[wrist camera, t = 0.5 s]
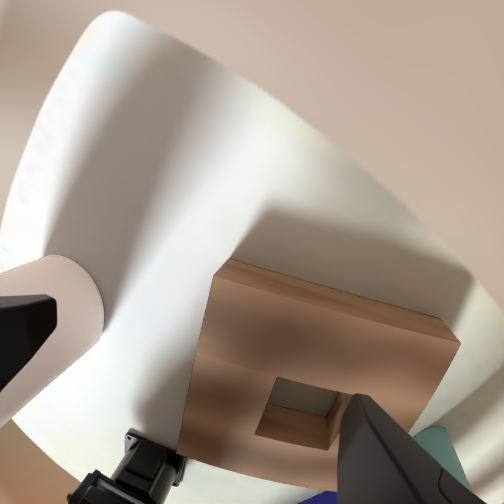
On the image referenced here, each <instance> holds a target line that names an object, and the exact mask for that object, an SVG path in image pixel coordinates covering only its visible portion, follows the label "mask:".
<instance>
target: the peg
mask: <svg viewBox="0 0 504 504" xmlns="http://www.w3.org/2000/svg"><path fill="white" fill-rule="evenodd" d="M413 439H414V440H415V441H417V442H418V443H419V444H420V445H421V446H422V447H423V448H424V449H425V450H426V451H427V452H428V453H429V454H430V455H431V456H432V457H433V458H434V459H435V460H436V461H438V462H439V463H440V464H441V465H442V468H445V469H446V470H447V471H448V472H449V473H450V474H451V475H452V476H453V477H455V478H456V479H457V480H458V481H459V482H460V483H461V484H462V485H464V486H465V487H466V488H467V489H469V490H470V491H471V488H470V486H469V483H468V481H467V478H466V476H465V473H464V471H463V468H462V466H461V463H460V461H459V459H458V456H457V454H456V452H455V449H454V447H453V445H452V442H451V440H450V438H449V436H448V433H447V431H446V430H445V429H444V428H443V427H431V428H428V429H425V430H423V431H421V432H420V433H418V434H417V435H416V436H415V437H414V438H413ZM471 492H472V491H471Z"/></svg>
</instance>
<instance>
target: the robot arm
mask: <svg viewBox="0 0 504 504" xmlns="http://www.w3.org/2000/svg"><path fill="white" fill-rule="evenodd" d="M56 327H57V301H56V299H55V298H53V297H51V296H49V295H46V294H38V295H18V296H0V392H1V391H2V390H3V389H4V388H5V387H6V386H7V385H8V383H9V382H10V381H11V380H12V379H13V378H14V377H15V376H16V375H17V374H18V373H19V372H20V371H21V370H22V369H23V368H24V367H25V366H26V364H27V363H28V362H29V361H30V360H31V359H32V358H33V356H34V355H35V354H36V353H37V351H38V350H39V349H40V348H41V346H42V345H43V344H44V343H45V341H46V340H47V339H48V338H49V336H50V335H51V334H52V333H53V332H54V330H55V329H56ZM184 461H185V456H183V455H180V454H177V453H176V451H174V450H171V449H168V448H166V447H163V446H160V445H158V444H155V443H153V442H151V441H148V440H146V439H143V438H141V437H139V436H136V435H134V434H132V433H129V432H128V433H126V435H125V456H124V458H123V459H122V461H121V462H120V464H119V465H118V467H117V468H116V470H115V472H114V473H113V475H112V476H111V478H108V477H107V476H105V475H103V474H102V473H101V472H100V471H98V470H97V469H96V470H95V471H94V472H93V473H92V474H91V473H88V475H87V476H86V477H85V479H84V480H83V481H82V483H81V484H80V485H79V486H77V487H76V488H75V489H74V490H73V491H71V492H70V493H69V494H68V496H67V501H68V504H164V501H165V499H166V497H167V495H168V493H169V490H170V488H171V486H175V487H177V486H179V483H180V479H181V474H182V470H183V465H184ZM337 504H487V503H485V502H484V501H483V500H481V499H480V498H479V497H477V496H476V495H475V494H474V493H472V492H471V491H470V490H469V489H467V488H466V487H465V486H464V485H462V484H461V483H460V482H459V481H458V480H457V479H456V478H455V477H453V476H452V475H451V474H450V473H449V472H448V471H447V470H446V469H445V468H442V465H441V464H440V463H439V462H438V461H436V460H435V459H434V458H433V457H432V456H431V455H430V454H429V453H428V452H427V451H426V450H425V449H424V448H423V447H422V446H421V445H420V444H419V443H418V442H417V441H415V440H414V439H413V438H412V437H411V436H410V435H409V434H408V433H407V432H406V431H405V430H404V429H403V428H402V427H401V426H400V425H399V424H398V423H397V422H396V421H395V420H394V419H393V418H392V417H391V416H390V415H389V414H388V413H386V412H385V411H384V410H383V409H382V408H381V407H380V406H379V405H378V404H377V403H376V402H375V401H374V400H373V399H372V398H371V397H370V396H369V395H365V394H359V393H355V394H354V395H353V396H352V397H351V399H350V401H349V403H348V405H347V407H346V409H345V411H344V413H343V415H342V418H341V422H340V435H339V448H338V458H337Z"/></svg>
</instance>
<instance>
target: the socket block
mask: <svg viewBox="0 0 504 504" xmlns="http://www.w3.org/2000/svg"><path fill="white" fill-rule="evenodd" d="M460 345H461V343H460V341H459V340H458V339H457V338H456V337H455V335H454V334H453V333H452V332H451V331H450V330H449V328H448V327H447V326H446V325H445V324H444V323H443V321H442V320H441V319H440V318H436V317H432V316H429V315H425V314H421V313H418V312H414V311H411V310H407V309H403V308H400V307H396V306H393V305H389V304H385V303H382V302H378V301H375V300H371V299H368V298H364V297H360V296H357V295H353V294H350V293H346V292H343V291H339V290H336V289H332V288H329V287H325V286H322V285H318V284H315V283H311V282H308V281H304V280H301V279H297V278H294V277H290V276H287V275H284V274H280V273H277V272H273V271H270V270H266V269H263V268H260V267H256V266H253V265H249V264H246V263H243V262H239V261H236V260H232V259H228V260H227V261H226V262H225V263H224V264H223V265H222V267H221V268H220V269H219V270H218V271H217V272H216V273H215V274H214V275H213V279H212V283H211V288H210V292H209V297H208V301H207V305H206V310H205V314H204V319H203V323H202V328H201V333H200V337H199V342H198V346H197V351H196V356H195V361H194V365H193V370H192V375H191V380H190V385H189V390H188V395H187V400H186V405H185V410H184V415H183V420H182V425H181V430H180V435H179V441H178V446H177V452H176V453H177V454H180V455H183V456H185V457H188V458H191V459H194V460H197V461H200V462H203V463H206V464H209V465H213V466H216V467H219V468H223V469H226V470H230V471H233V472H237V473H241V474H244V475H248V476H252V477H257V478H261V479H265V480H270V481H274V482H279V483H284V484H289V485H295V486H300V487H306V488H313V489H319V490H327V491H335V492H337V458H338V448H339V435H340V422H341V418H342V415H343V413H344V411H345V409H346V407H347V405H348V403H349V401H350V399H351V397H352V396H353V395H354V394H355V393H359V394H365V395H369V396H370V397H371V398H372V399H373V400H374V401H375V402H376V403H377V404H378V405H379V406H380V407H381V408H382V409H383V410H384V411H385V412H386V413H388V414H389V415H390V416H391V417H392V418H393V419H394V420H395V421H396V422H397V423H398V424H399V425H400V426H401V427H402V428H403V429H404V430H405V431H406V432H407V433H408V432H409V431H410V429H411V428H412V426H413V425H414V423H415V422H416V420H417V419H418V417H419V416H420V414H421V413H422V411H423V410H424V408H425V407H426V405H427V403H428V402H429V400H430V399H431V397H432V395H433V394H434V392H435V390H436V389H437V387H438V385H439V384H440V382H441V380H442V378H443V377H444V375H445V373H446V371H447V370H448V368H449V366H450V364H451V362H452V360H453V358H454V356H455V355H456V353H457V351H458V349H459V347H460ZM277 377H281V378H284V379H288V380H292V381H296V382H300V383H304V384H308V385H312V386H316V387H320V388H325V389H329V390H334V391H338V392H339V394H338V396H337V398H336V400H335V402H334V404H333V406H332V408H331V410H330V411H329V413H328V415H327V417H323V416H318V415H314V414H309V413H305V412H300V411H296V410H292V409H288V408H284V407H280V406H276V405H272V404H268V403H267V401H268V399H269V396H270V394H271V391H272V389H273V386H274V383H275V381H276V378H277Z"/></svg>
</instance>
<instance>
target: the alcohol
mask: <svg viewBox="0 0 504 504" xmlns="http://www.w3.org/2000/svg"><path fill="white" fill-rule="evenodd" d="M38 294H46V295H49V296H51V297H53V298H55V299H56V301H57V327H56V329H55V330H54V332H53V333H52V334H51V335H50V336H49V338H48V339H47V340H46V341H45V343H44V344H43V345H42V346H41V348H40V349H39V350H38V351H37V353H36V354H35V355H34V356H33V358H32V359H31V360H30V361H29V362H28V363H27V364H26V366H25V367H24V368H23V369H22V370H21V371H20V372H19V373H18V374H17V375H16V376H15V377H14V378H13V379H12V380H11V381H10V382H9V383H8V385H7V386H6V387H5V388H4V389H3V390H2V391H1V392H0V428H1V426H3V425H4V424H5V423H6V422H7V421H8V420H9V419H10V418H12V417H13V416H14V415H15V414H16V413H17V412H18V411H19V410H21V409H22V408H23V407H24V406H25V405H26V404H27V403H28V402H30V401H31V400H32V399H33V398H34V397H35V396H36V395H37V394H39V393H40V392H41V391H42V390H43V389H44V388H45V387H47V386H48V385H49V384H50V383H51V382H52V381H53V380H55V379H56V378H57V377H58V376H59V375H60V374H62V373H63V372H64V371H65V370H66V369H67V368H68V367H70V366H71V365H72V364H73V363H74V362H75V361H77V360H78V359H79V358H80V357H81V356H82V355H84V354H85V353H86V352H87V351H88V350H90V349H91V348H92V347H93V346H94V345H95V344H96V343H97V342H98V340H99V339H100V337H101V334H102V330H103V323H104V307H103V302H102V298H101V295H100V292H99V290H98V287H97V286H96V284H95V282H94V280H93V279H92V277H91V276H90V275H89V274H88V272H87V271H86V270H85V269H84V268H83V267H81V266H80V265H79V264H77V263H76V262H74V261H72V260H70V259H69V258H66V257H64V256H61V255H48V256H45V257H42V258H40V259H37V260H34V261H32V262H29V263H26V264H24V265H21V266H18V267H16V268H13V269H11V270H8V271H6V272H3V273H0V296H18V295H38Z"/></svg>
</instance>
